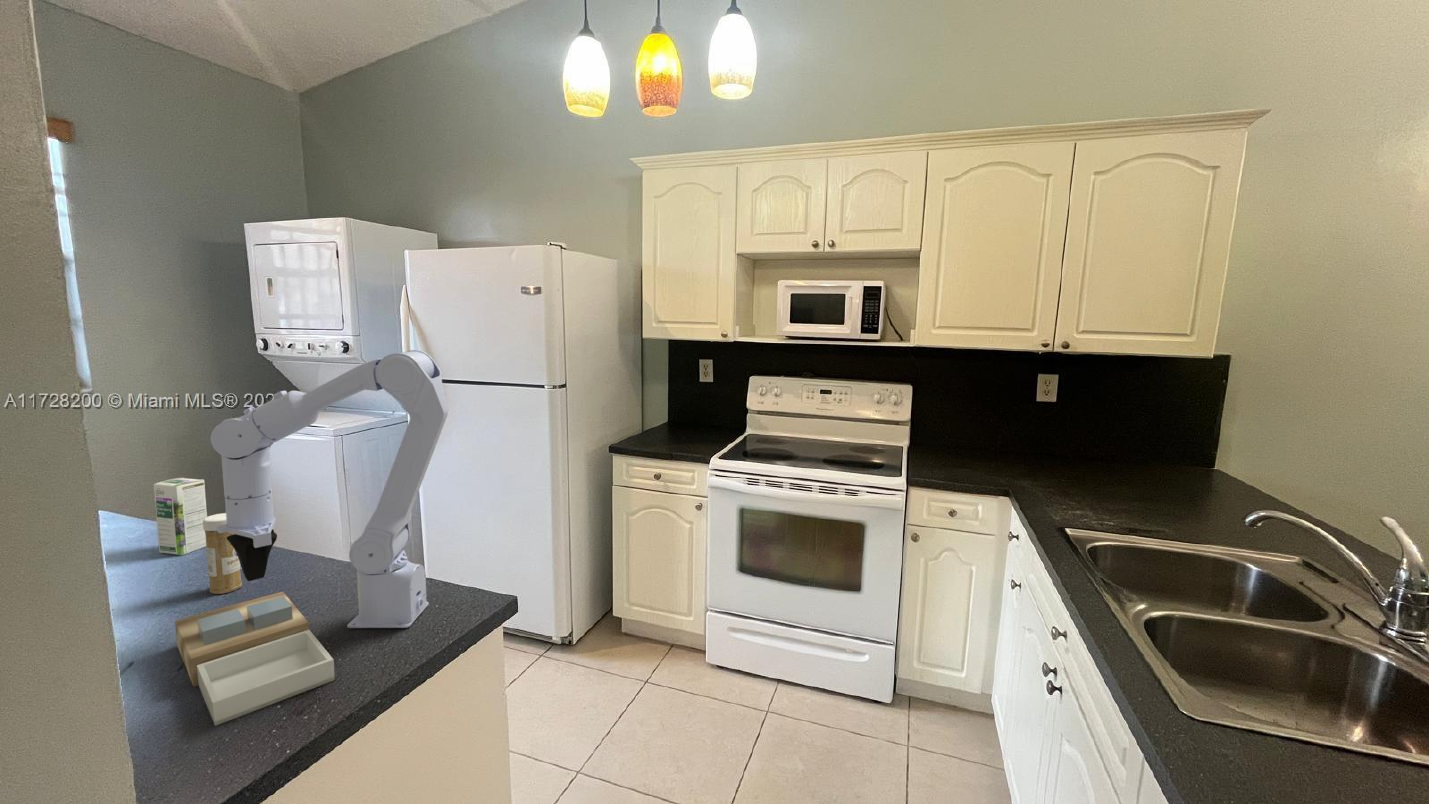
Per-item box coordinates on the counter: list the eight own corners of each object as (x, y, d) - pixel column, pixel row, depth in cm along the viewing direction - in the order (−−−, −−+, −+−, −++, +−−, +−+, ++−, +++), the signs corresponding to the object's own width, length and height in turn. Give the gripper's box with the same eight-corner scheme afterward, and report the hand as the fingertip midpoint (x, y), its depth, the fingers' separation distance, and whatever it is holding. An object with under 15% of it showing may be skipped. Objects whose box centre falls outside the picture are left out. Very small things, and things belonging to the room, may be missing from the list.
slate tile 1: (198, 633, 82) (197, 619, 81) (239, 621, 85) (237, 608, 85) (204, 645, 79) (202, 631, 79) (246, 632, 82) (244, 619, 82)
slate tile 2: (247, 619, 86) (246, 606, 86) (284, 608, 89) (283, 596, 89) (254, 630, 83) (253, 617, 83) (292, 618, 86) (291, 606, 86)
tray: (198, 686, 76) (196, 665, 76) (310, 648, 86) (309, 629, 85) (214, 726, 69) (212, 703, 69) (334, 680, 79) (333, 659, 78)
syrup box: (157, 553, 117) (150, 483, 115) (188, 542, 123) (182, 476, 121) (181, 556, 116) (174, 485, 114) (211, 545, 122) (205, 478, 120)
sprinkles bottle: (240, 591, 103) (234, 518, 101) (207, 597, 100) (200, 522, 98) (244, 581, 106) (238, 510, 104) (211, 586, 104) (204, 514, 102)
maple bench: (177, 646, 85) (174, 620, 85) (284, 614, 95) (282, 591, 95) (193, 687, 76) (190, 658, 76) (310, 647, 86) (308, 622, 86)
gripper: (205, 488, 91) (212, 571, 92) (225, 510, 81) (232, 602, 83) (261, 480, 96) (267, 559, 98) (286, 500, 86) (291, 586, 88)
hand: (255, 578), depth 91 cm, fingers closed
